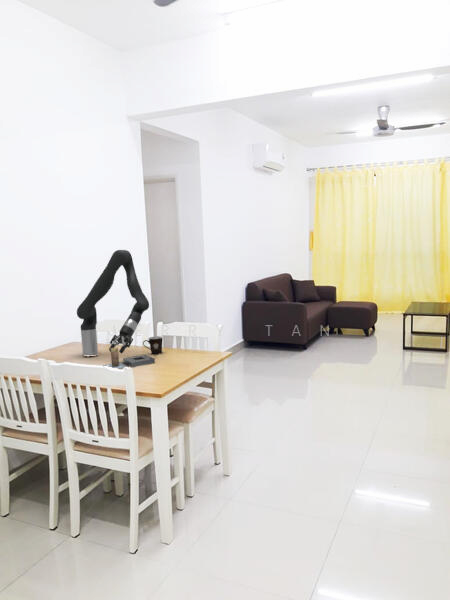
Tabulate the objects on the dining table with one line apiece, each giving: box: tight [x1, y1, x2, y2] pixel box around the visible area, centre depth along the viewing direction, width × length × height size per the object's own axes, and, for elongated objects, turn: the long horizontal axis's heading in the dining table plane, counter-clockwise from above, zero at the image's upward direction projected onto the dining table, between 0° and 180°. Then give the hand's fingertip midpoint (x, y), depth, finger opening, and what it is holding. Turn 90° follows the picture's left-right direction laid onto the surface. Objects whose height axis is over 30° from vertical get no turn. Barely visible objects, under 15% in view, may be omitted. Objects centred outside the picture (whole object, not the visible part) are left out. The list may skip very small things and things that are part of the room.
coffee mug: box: [142, 335, 163, 356], centre depth 306 cm, size 12×9×10 cm
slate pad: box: [102, 361, 129, 370], centre depth 276 cm, size 14×10×1 cm
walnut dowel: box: [110, 347, 120, 367], centre depth 276 cm, size 4×4×10 cm
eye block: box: [122, 354, 156, 368], centre depth 283 cm, size 14×14×2 cm
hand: (115, 351), depth 276 cm, fingers open, 8 cm apart
